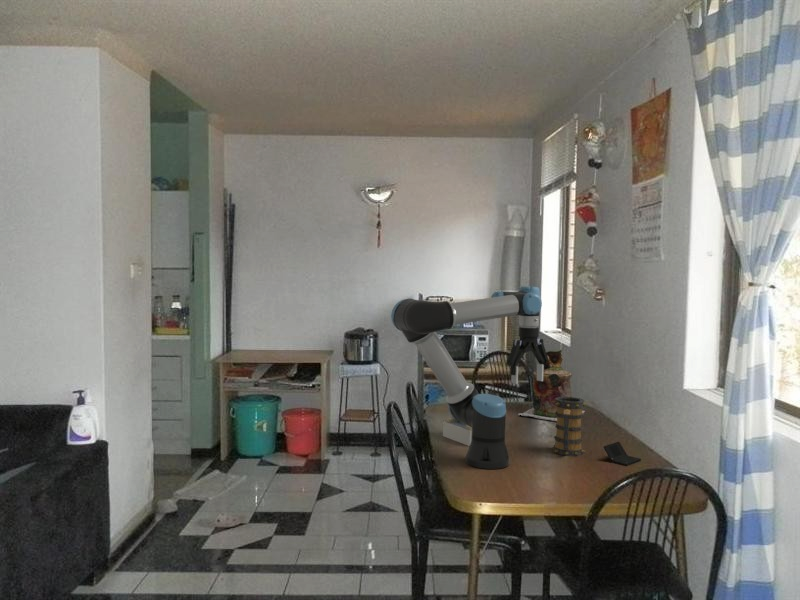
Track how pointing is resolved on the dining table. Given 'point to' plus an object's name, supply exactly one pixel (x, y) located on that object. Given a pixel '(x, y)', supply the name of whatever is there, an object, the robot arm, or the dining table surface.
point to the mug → (568, 426)
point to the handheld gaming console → (619, 455)
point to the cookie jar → (549, 388)
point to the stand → (457, 431)
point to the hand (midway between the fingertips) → (527, 382)
